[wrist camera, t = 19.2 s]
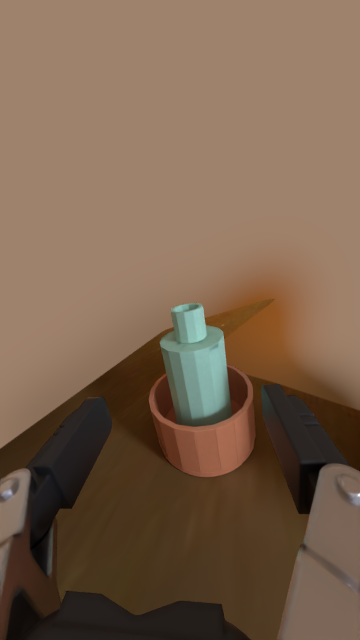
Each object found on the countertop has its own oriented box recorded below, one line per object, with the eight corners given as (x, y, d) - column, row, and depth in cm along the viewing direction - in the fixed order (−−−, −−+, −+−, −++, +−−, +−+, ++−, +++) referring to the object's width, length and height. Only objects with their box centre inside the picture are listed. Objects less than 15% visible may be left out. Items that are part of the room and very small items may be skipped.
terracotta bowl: (201, 508, 16) (190, 458, 14) (143, 426, 24) (133, 389, 23) (277, 427, 21) (276, 385, 19) (207, 384, 30) (203, 352, 28)
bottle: (203, 461, 18) (177, 323, 14) (168, 423, 23) (142, 312, 19) (244, 424, 22) (234, 301, 17) (206, 397, 27) (191, 297, 22)
